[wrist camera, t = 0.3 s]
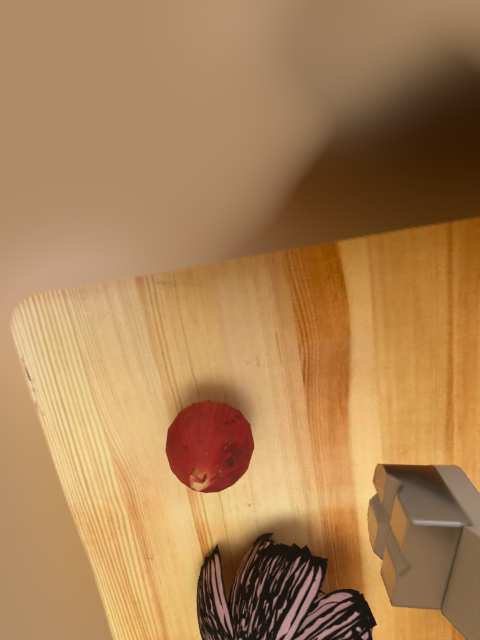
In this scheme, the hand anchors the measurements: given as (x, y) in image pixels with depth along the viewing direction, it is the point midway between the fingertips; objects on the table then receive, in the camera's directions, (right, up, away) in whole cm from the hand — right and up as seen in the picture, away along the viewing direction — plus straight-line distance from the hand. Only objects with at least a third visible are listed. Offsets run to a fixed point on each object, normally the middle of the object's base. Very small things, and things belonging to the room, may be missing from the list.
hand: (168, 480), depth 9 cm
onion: (0, -4, +25) cm, 25 cm away
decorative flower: (+5, -19, +29) cm, 35 cm away
